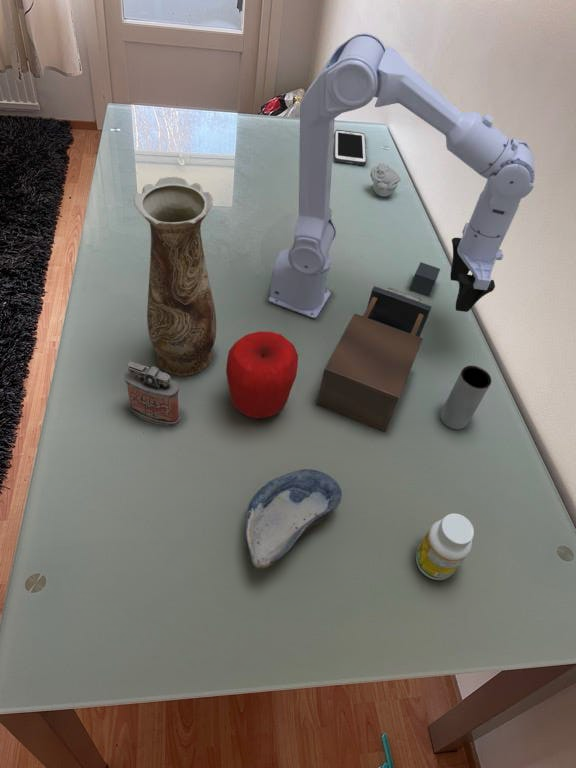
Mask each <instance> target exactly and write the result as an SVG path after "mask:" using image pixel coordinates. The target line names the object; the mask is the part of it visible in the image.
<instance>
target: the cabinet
mask: <svg viewBox="0 0 576 768" xmlns="http://www.w3.org/2000/svg"><path fill="white" fill-rule="evenodd" d="M422 343H423V337H421V336H420V337H418V336H415V335H413V334H410V333H407V332H405V331H402V330H399V329H396V328H394V327H391V326H388V325H385V324H383V323H380V322H377V321H375V320H372V319H369V318H366V317H364V316H363V315H361V314H358V313H356V312H355V313H353V315H352V317H351V319H350V321H349V323H348V324H347V326H346V328H345V330H344V331H343V333H342V336H341V337H340V339H339V341H338V343H337V345H336V347H335V348H334V350H333V352H332V354H331V355H330V358H329V359H328V362H327V363H326V365H325V367H324V368H323V369H324V370H323V374H322V379H321V383H320V387H319V390H318V396H317V399H316V400H317V401H316V405H318V406H320V407H323V408H325V409H327V410H330V411H331V412H334V413H337V414H340V415H342V416H344V417H347V418H350V419H352V420H355V421H357V422H360V423H362V424H365V425H367V426H370V427H372V428H374V429H377V430H380V431H382V432H384V433H386V432H387V429H388V428H389V425H390V422H391V419H392V417H393V415H394V412H395V411H396V410H395V409H396V407H397V406H398V402H399V400H400V398H401V395H402V392H403V389H404V387H405V385H406V382H407V380H408V377H409V375H410V372H411V369H412V367H413V364H414V363H415V359H416V357H417V354H418V352H419V350H420V347H421V345H422Z"/></svg>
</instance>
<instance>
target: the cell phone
mask: <svg viewBox="0 0 576 768" xmlns="http://www.w3.org/2000/svg"><path fill="white" fill-rule="evenodd" d="M333 153H334V154H333V156H334V158H333V159H334V162H336V163H339V164H341V163H342V164H352V165H355V166H357V165H358V166H366V164H367V147H366V134H365V133H364V132H359V131H352V130H344V129H336V130H334V143H333Z"/></svg>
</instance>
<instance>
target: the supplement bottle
mask: <svg viewBox="0 0 576 768" xmlns="http://www.w3.org/2000/svg"><path fill="white" fill-rule="evenodd" d="M474 536H475V528H474V525H473V524H472V522H471V521H470V520H469V519H468V518H467V517H466V516H464V515H462V514H460V513H449V514H447V515H445V516H444V517H443V518H442V519H438V520H436V521H435V522H434V523H433V524H432V525H431V527H430V528H429V530H428V531H427V533H426V534H425V536H424V538H423V539H422V540H421V542H420V544H419V545H418V547H417V549H416V550H415V551H416V552H415V560H416V561H415V562H416V565H417V567H418V570H419V571H420V572H421V573H422V574H424V576H425V577H427V578H429V579H431V580H436V581H443V580H446V579H448V578H450V577H451V576H452V575H453V574H454V573H455V571H456V570H457V569H458V568H459V566H460V565H461V564H462V563H463V561H464V560H465V559H466V558H467V556H468V555H469V554H470V552H471V550H472V546H473V542H472V541H473V539H474Z"/></svg>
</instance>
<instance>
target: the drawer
mask: <svg viewBox="0 0 576 768" xmlns="http://www.w3.org/2000/svg"><path fill="white" fill-rule="evenodd" d="M421 301H422V298H420V297H417V296H414V295H412V294H408V293H406V292H403V291H400V290H397V289H394V288H391V287H388V290H386V289H384V288H381V287H379V286H376V285H373V287H372V289H371V292H370V296H369V299H368V303H367V306H366V310H365V312H364V313H363V315H362V316H364V317H366V318H369V319H372V320H375V321H377V322H380V323H383V324H385V325H388V326H391V327H394V328H396V329H399V330H402V331H405V332H407V333H410V334H413V335H415V336H418V337H421V336H422V332H423V331H424V328H425V326H426V323H427V320H428V318H429V315H430V313H431V310H432V306H431V305H429V304H426V303H423V302H421Z"/></svg>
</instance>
